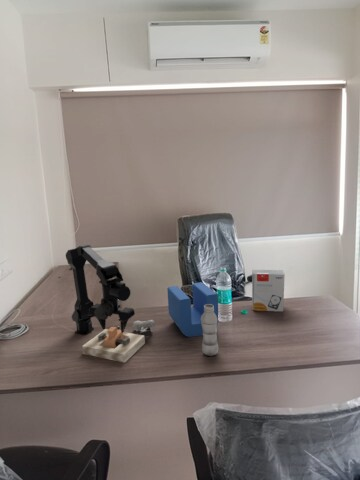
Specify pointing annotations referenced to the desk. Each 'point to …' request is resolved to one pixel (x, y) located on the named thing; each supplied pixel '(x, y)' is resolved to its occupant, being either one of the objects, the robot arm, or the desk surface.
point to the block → (182, 310)
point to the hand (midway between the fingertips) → (113, 330)
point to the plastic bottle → (209, 331)
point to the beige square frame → (120, 353)
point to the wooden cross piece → (113, 337)
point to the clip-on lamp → (142, 327)
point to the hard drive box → (267, 290)
